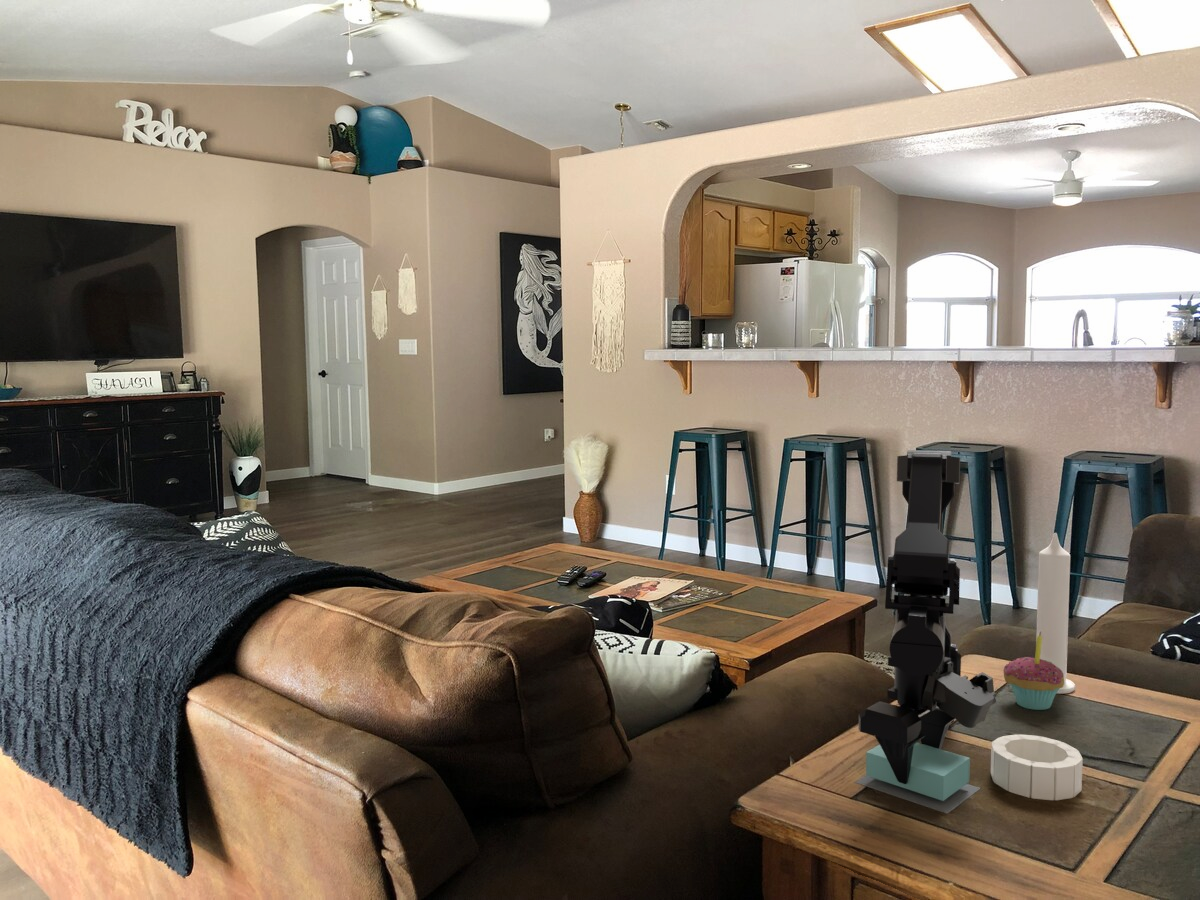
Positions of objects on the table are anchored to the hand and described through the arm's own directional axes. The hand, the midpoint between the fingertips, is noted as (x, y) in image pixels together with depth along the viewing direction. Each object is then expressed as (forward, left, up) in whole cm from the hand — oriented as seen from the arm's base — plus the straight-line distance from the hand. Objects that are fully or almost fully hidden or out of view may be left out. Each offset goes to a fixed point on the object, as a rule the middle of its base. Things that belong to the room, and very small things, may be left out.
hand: (917, 773), depth 118 cm
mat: (0, 0, -2) cm, 2 cm away
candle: (-2, +49, -2) cm, 49 cm away
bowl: (+10, +11, -2) cm, 15 cm away
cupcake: (-1, +39, -2) cm, 39 cm away
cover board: (0, 0, -1) cm, 1 cm away
